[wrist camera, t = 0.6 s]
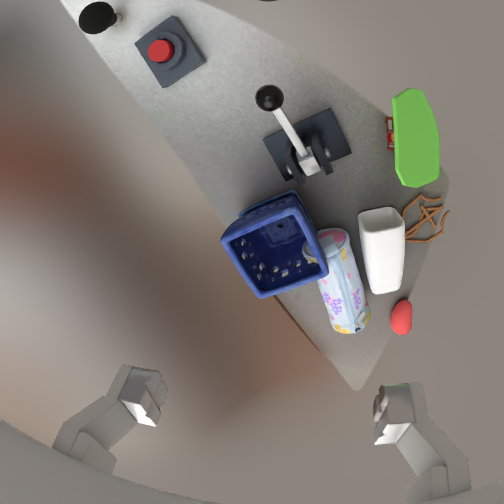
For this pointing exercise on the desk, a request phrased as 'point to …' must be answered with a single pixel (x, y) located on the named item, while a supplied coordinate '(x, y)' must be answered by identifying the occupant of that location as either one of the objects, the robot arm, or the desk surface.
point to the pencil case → (340, 282)
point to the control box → (183, 55)
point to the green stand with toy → (414, 139)
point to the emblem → (421, 220)
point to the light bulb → (98, 18)
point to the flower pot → (275, 245)
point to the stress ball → (402, 317)
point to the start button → (160, 50)
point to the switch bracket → (312, 134)
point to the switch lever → (287, 126)
